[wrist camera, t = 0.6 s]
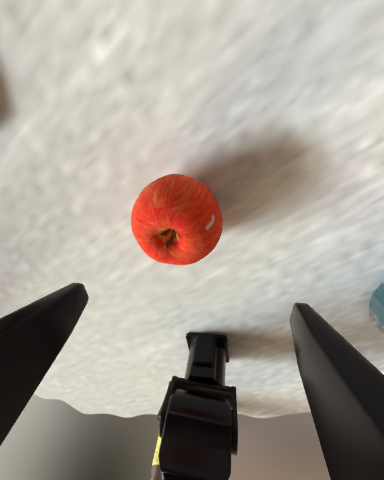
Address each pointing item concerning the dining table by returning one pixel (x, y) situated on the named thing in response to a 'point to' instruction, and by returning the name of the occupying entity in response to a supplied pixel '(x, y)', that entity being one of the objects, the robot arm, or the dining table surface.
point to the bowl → (378, 307)
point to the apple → (176, 220)
